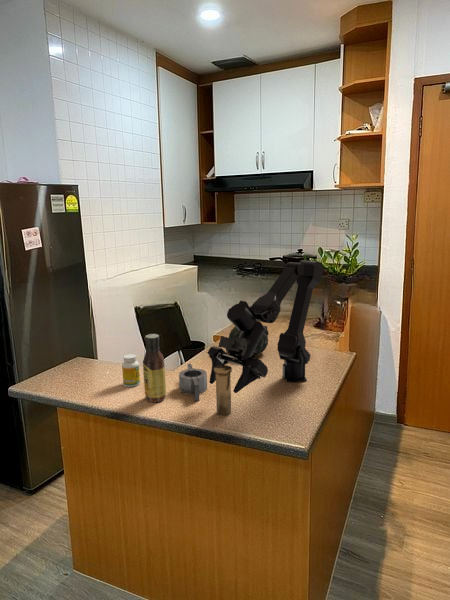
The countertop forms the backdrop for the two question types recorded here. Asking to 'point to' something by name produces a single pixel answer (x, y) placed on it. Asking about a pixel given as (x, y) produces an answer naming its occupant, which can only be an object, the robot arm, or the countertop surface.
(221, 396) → the pin
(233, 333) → the squash
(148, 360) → the sauce bottle
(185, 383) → the grey ring with arms
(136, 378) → the supplement bottle
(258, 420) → the countertop surface
